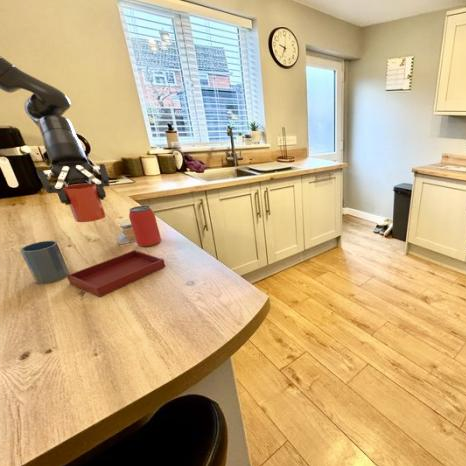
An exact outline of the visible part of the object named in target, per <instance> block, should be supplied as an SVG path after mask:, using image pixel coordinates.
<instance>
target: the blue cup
mask: <svg viewBox="0 0 466 466" xmlns="http://www.w3.org/2000/svg"><path fill="white" fill-rule="evenodd" d="M20 253H21V256H22V257H23V259H24V262H25V263H26V266H27V268H28V270H29V272H30V274H31V276H32V278H33V280H34V282H35V283H36V284H38V285H47V284H51V283H55V282H58V281H61V280H64V279H65V278H67V275H69V274H71V272H70V268H69V266H68V264H67V261H66V260H65V257H64V254H63V252H62V249H61V246H60V244H59V242H58V241H56V240H43V241H37V242H34V243H33V242H32V243H30V244H27V245H25V246H23V247H22V248H20Z"/></svg>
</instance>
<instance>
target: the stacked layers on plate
mask: <svg viewBox="0 0 466 466" xmlns="http://www.w3.org/2000/svg"><path fill="white" fill-rule="evenodd" d="M118 224H119V228H120V229H121V233H120V234H117V236H116V238H117V242H118V245H124V244H128V243H133V242H137V241H136V238H135V235H134V231H133V228H132V225H131V221H130V218H127V219H124V220H120V221H118Z"/></svg>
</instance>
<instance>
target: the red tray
mask: <svg viewBox="0 0 466 466" xmlns="http://www.w3.org/2000/svg"><path fill="white" fill-rule="evenodd" d="M164 268H166V262H165V259H164V258H160V257H157V256H155V255H151V254H148V253H144V252H142V251H139V250H136V249H134V250H131V251H128V252H126V253H123V254H121V255H118V256H117V255H116V256H114V257H111V258H109V259H106V260H104V261H102V262H99V263H96V264H93V265H90V266H88V267H86V268H83V269H80V270H77V271H75V272H72V273H70V274H69V275H67V277H66V278H67V280H68V282H69V284H70V285H72V286H75V287H76V288H79V289H81V290H83V291H86V292H87V293H90V294H92V295H93V296H96V297H98V298H101V297H103V296H105V295H108V294H110V293H112V292H114V291H116V290H119V289H121V288H123V287H126V286H127V285H129V284H131V283H134V282H137V281H138V280H141V279H142V278H144V277H147V276H149V275H151V274H153V273H156V272H157V271H160V270H162V269H164Z"/></svg>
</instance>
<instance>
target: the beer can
mask: <svg viewBox="0 0 466 466" xmlns="http://www.w3.org/2000/svg"><path fill="white" fill-rule="evenodd" d="M128 211H129V214H128V219H130V221H131V225H132V228H133V231H134V235H135V238H136V241H135V242H136V244H137V246H139V247H151V246H155V245H158V244H159V243H160V242H161V241H162V236H161V234H160V230H159V226H158V223H157V222H158V221H157V218H156V214H155V212H154V210H153V209H152V207H151V206H150V205H138V206H134V207H131V208H129V209H128Z"/></svg>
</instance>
